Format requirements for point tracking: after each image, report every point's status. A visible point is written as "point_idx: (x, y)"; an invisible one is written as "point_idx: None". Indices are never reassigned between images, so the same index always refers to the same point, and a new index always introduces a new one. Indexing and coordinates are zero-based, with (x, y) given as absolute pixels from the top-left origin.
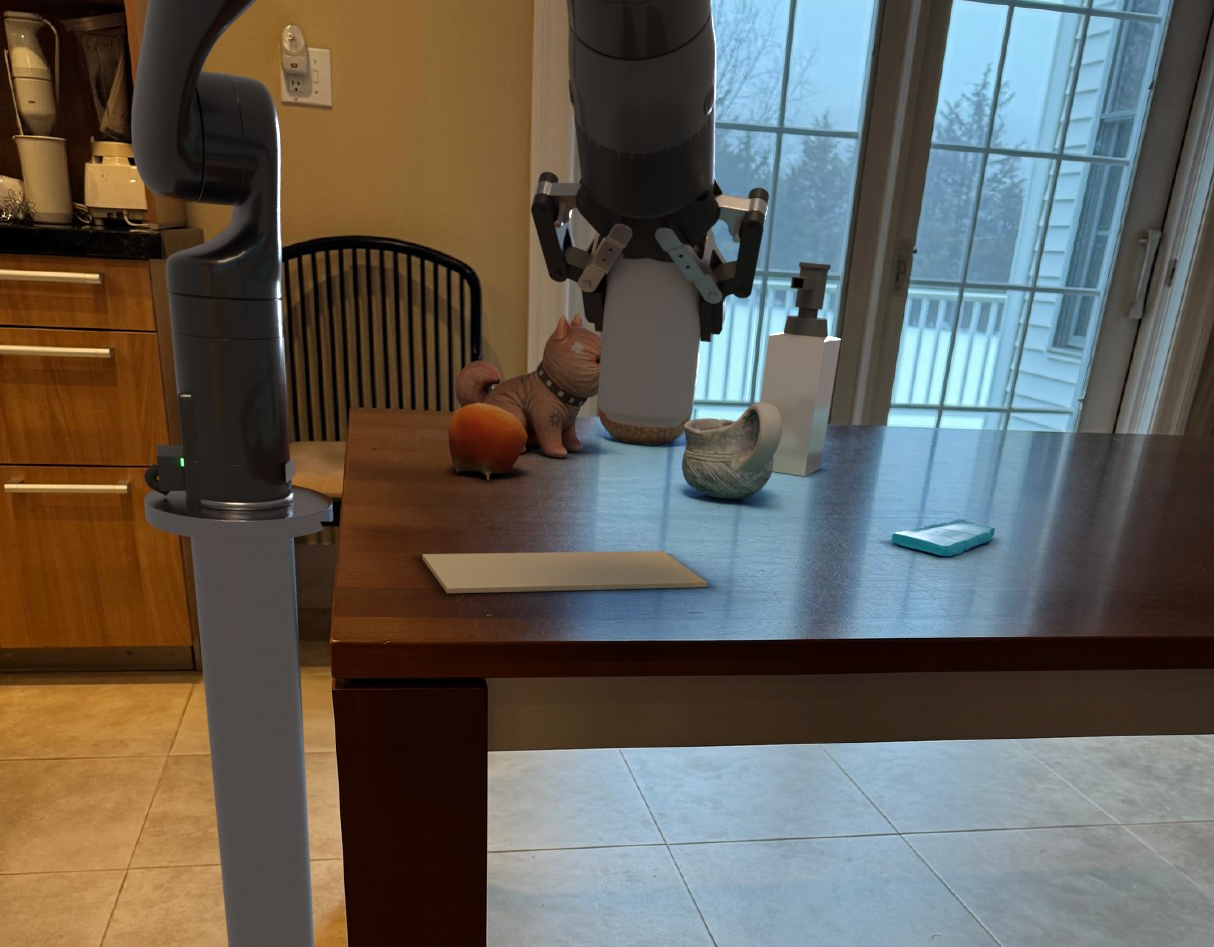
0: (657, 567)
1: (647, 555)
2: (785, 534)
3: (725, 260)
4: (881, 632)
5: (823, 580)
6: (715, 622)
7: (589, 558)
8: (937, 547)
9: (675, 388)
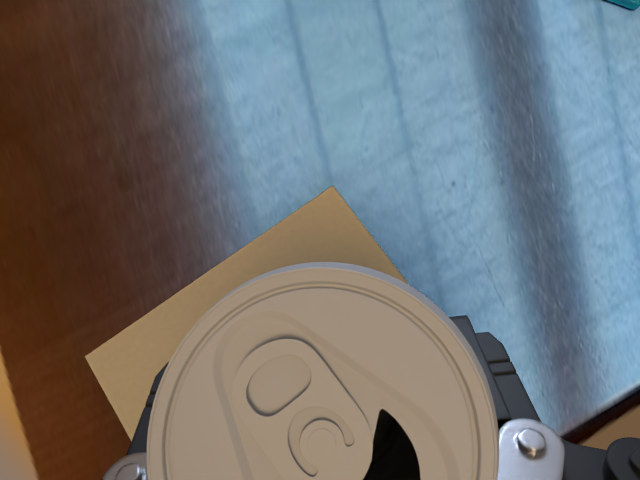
0: (345, 260)
1: (321, 215)
2: (440, 11)
3: (563, 464)
4: (635, 361)
5: (527, 185)
6: None
7: (263, 266)
8: (632, 2)
9: (410, 471)
